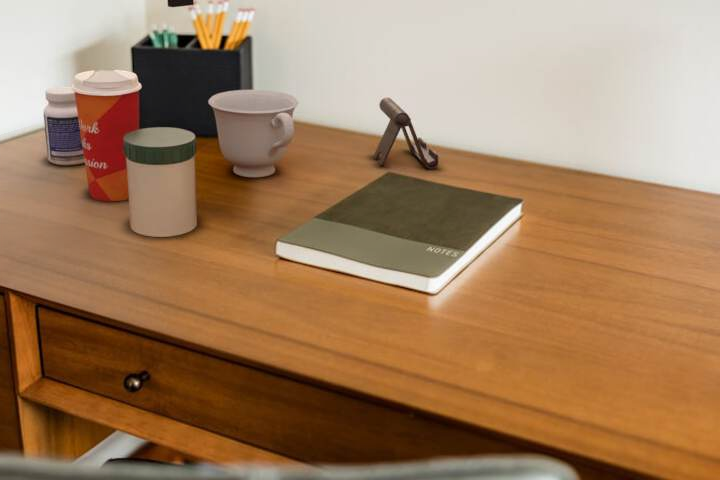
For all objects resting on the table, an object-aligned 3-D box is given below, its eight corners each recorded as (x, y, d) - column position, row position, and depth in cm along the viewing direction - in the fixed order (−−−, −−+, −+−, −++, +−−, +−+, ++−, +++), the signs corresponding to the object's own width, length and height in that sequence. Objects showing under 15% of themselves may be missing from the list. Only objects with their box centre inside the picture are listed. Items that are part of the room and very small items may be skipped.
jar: (127, 238, 101) (121, 151, 97) (132, 213, 108) (127, 131, 104) (196, 236, 102) (193, 150, 98) (197, 212, 109) (194, 131, 105)
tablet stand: (438, 169, 128) (442, 112, 124) (384, 171, 126) (387, 113, 123) (420, 151, 135) (424, 96, 132) (369, 153, 134) (372, 97, 131)
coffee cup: (79, 185, 116) (69, 69, 110) (144, 180, 118) (137, 67, 113) (81, 207, 109) (71, 84, 103) (151, 202, 111) (144, 82, 105)
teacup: (250, 197, 114) (249, 121, 110) (194, 166, 125) (191, 95, 121) (327, 181, 121) (329, 109, 117) (267, 153, 132) (267, 85, 128)
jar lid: (120, 164, 97) (119, 147, 96) (126, 143, 104) (125, 127, 104) (195, 163, 98) (195, 146, 98) (196, 142, 106) (196, 126, 105)
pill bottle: (99, 161, 125) (93, 90, 122) (61, 169, 121) (54, 96, 118) (77, 151, 129) (71, 83, 125) (40, 159, 125) (33, 88, 121)
